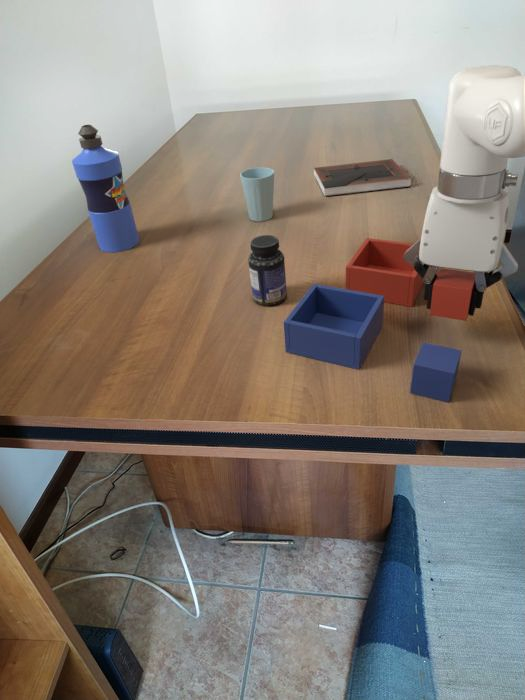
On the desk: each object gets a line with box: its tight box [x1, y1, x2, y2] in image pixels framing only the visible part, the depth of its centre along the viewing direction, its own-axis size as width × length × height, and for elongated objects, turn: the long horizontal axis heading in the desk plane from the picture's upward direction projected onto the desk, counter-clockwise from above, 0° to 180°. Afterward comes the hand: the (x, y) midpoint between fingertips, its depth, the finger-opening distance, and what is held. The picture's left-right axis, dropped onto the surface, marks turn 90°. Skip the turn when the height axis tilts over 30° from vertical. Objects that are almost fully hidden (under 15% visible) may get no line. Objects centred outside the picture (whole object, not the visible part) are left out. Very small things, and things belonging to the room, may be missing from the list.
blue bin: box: [283, 283, 385, 370], centre depth 76 cm, size 12×12×6 cm
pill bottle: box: [247, 234, 288, 307], centre depth 85 cm, size 6×6×11 cm
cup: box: [239, 166, 275, 223], centre depth 114 cm, size 8×8×10 cm
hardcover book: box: [313, 158, 412, 197], centre depth 130 cm, size 16×2×22 cm
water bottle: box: [71, 124, 140, 253], centre depth 105 cm, size 9×9×25 cm
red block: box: [429, 268, 476, 322], centre depth 71 cm, size 5×5×5 cm
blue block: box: [409, 342, 462, 403], centre depth 65 cm, size 5×5×5 cm
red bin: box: [344, 237, 425, 308], centre depth 87 cm, size 12×12×6 cm
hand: (451, 306), depth 72 cm, fingers closed on red block, 5 cm apart
